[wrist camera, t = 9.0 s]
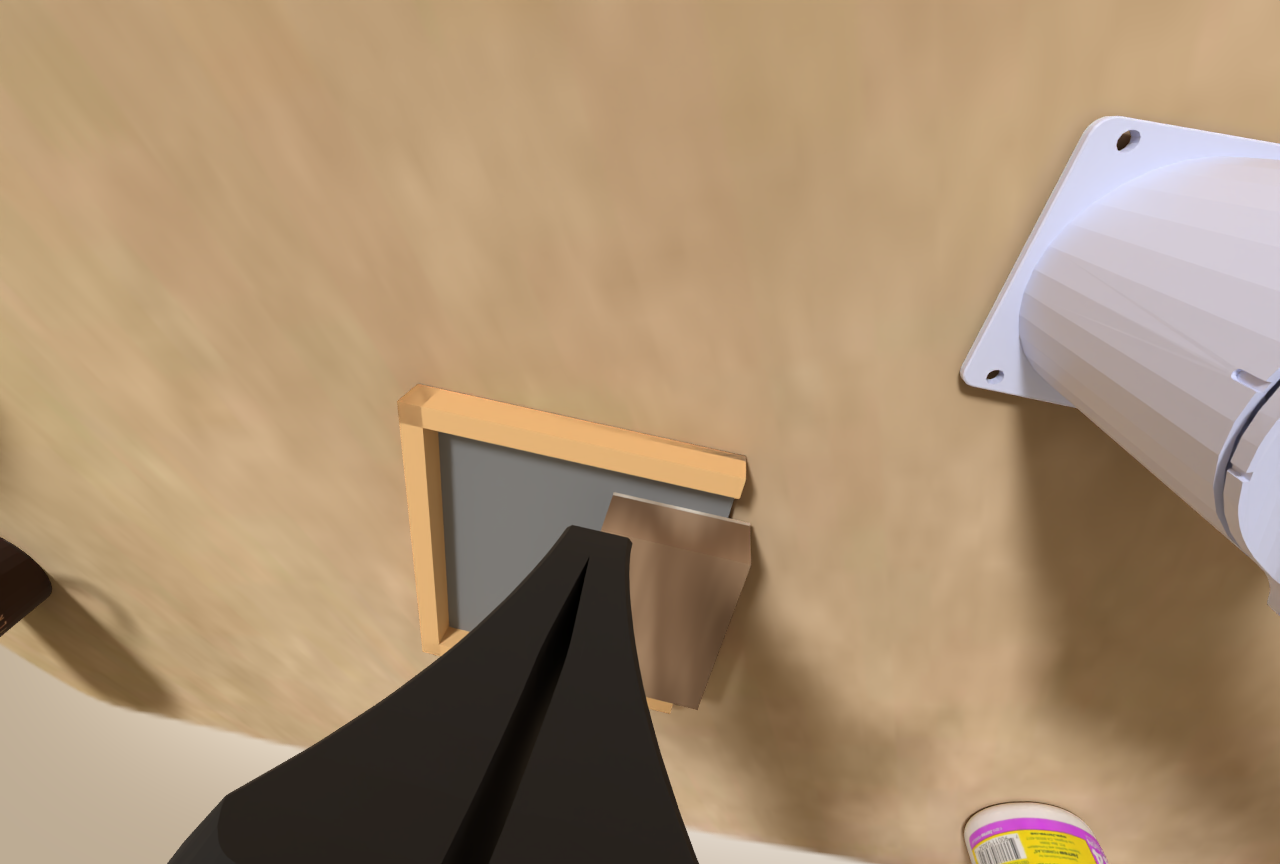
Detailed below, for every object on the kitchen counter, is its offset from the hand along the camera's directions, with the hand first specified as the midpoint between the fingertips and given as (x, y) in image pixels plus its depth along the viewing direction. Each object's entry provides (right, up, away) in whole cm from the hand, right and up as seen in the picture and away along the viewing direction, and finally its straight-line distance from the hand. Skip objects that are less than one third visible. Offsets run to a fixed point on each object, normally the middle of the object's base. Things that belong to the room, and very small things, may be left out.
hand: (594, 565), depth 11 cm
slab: (+5, -6, +13) cm, 15 cm away
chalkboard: (-3, -3, +15) cm, 15 cm away
